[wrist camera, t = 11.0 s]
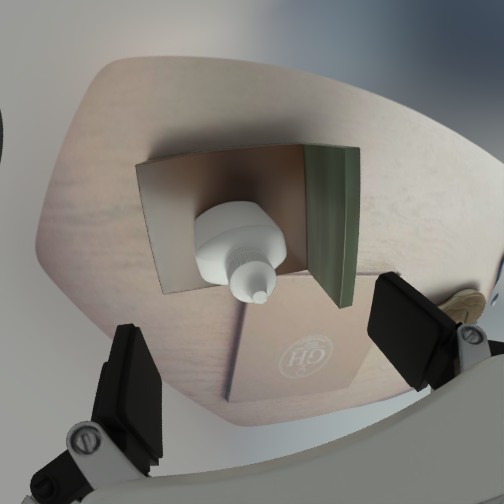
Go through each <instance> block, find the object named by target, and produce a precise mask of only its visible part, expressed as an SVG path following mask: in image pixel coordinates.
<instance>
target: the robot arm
mask: <svg viewBox="0 0 504 504" xmlns="http://www.w3.org/2000/svg"><path fill="white" fill-rule="evenodd" d="M455 326H456V322H455V321H454V320H453V319H451V318H450V317H449V316H448V315H447V314H446V313H444V312H443V311H442V310H441V309H440V308H438V307H437V306H436V305H435V304H434V303H432V302H431V301H430V300H429V299H427V298H426V297H425V296H424V295H422V294H421V293H420V292H419V291H417V290H416V289H415V288H414V287H412V286H411V285H410V284H409V283H407V282H406V281H405V280H403V279H402V278H401V277H400V276H398V275H397V274H396V273H394V272H387V273H383V274H381V275H379V277H378V279H377V280H376V283H375V289H374V295H373V301H372V307H371V312H370V317H369V322H368V327H367V332H368V335H369V337H370V338H371V339H372V340H373V342H374V343H375V344H376V345H377V346H378V348H379V349H380V350H381V351H382V352H383V354H384V355H385V356H386V357H387V359H388V360H389V361H390V362H391V363H392V365H393V366H394V367H395V368H396V370H397V371H398V372H399V373H400V375H401V376H402V377H403V378H404V379H405V381H406V382H407V383H408V384H409V386H410V387H414V388H415V390H416V391H417V392H419V391H421V390H422V389H424V388H426V387H427V386H428V384H429V385H430V386H431V393H430V394H429V395H427V396H426V397H424V398H422V399H420V400H419V401H417V402H415V403H413V404H412V405H410V406H408V407H406V408H404V409H403V410H401V411H399V412H397V413H395V414H393V415H391V416H389V417H387V418H385V419H383V420H381V421H379V422H377V423H375V424H373V425H371V426H368V427H366V428H363V429H361V430H359V431H356V432H354V433H352V434H349V435H347V436H344V437H342V438H339V439H336V440H334V441H331V442H328V443H326V444H323V445H320V446H317V447H314V448H311V449H308V450H304V451H302V452H298V453H295V454H291V455H288V456H284V457H280V458H276V459H273V460H269V461H264V462H260V463H255V464H250V465H245V466H240V467H234V468H228V469H222V470H215V471H208V472H200V473H191V474H180V475H169V476H158V477H151V476H150V475H149V474H148V473H149V472H150V466H156V465H157V466H158V465H159V458H162V456H163V446H162V380H161V376H160V374H159V372H158V370H157V367H156V365H155V363H154V361H153V359H152V356H151V354H150V352H149V349H148V347H147V345H146V342H145V340H144V337H143V335H142V332H141V330H140V328H139V327H135V326H134V324H124V325H118V326H117V329H116V332H115V336H114V340H113V344H112V347H111V351H110V356H109V359H108V362H105V363H104V364H103V366H102V370H101V374H100V379H99V383H98V388H97V392H96V397H95V402H94V406H93V412H92V417H91V421H83V422H80V423H77V424H75V426H73V427H72V428H71V429H70V431H69V432H68V434H67V438H66V445H67V448H68V449H67V450H66V451H65V452H63V453H62V454H61V455H59V456H58V457H57V458H55V459H54V460H53V461H51V462H50V463H49V464H47V465H46V466H45V467H44V468H42V469H40V470H39V471H38V472H36V474H34V475H33V477H32V479H31V483H30V489H31V493H32V495H31V496H28V495H27V496H26V497H25V498H24V500H23V502H22V503H21V504H504V342H498V341H491V340H487V336H486V334H485V332H484V331H483V330H482V329H481V328H480V327H478V326H476V325H474V324H470V323H465V324H462V325H461V326H459V327H458V329H457V331H456V330H455V329H454V328H455Z"/></svg>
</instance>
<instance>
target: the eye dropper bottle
mask: <svg viewBox="0 0 504 504" xmlns="http://www.w3.org/2000/svg"><path fill="white" fill-rule="evenodd" d="M194 248H195V259H196V262H197V266H198V269H199V271H200V274H201V276H202V278H203V279H204V280H205V281H207V282H209V283H213V284H220V285H229V287H230V290H231V292H232V294H233V295H234V296H235V297H236V298H237V299H238V300H240V301H244V302H249V303H250V302H251V303H252V302H254V303H256V304H262V303H264V302H265V301H266V300H267V297H268V296H269V295H270V294H271V293H272V292H273V290H274V288H275V286H276V282H277V281H276V280H277V276H276V272H275V270H274V269H275V268H276V267H278V266H279V265H280V264H281V263H282V262H283V261H284V259H285V258H286V254H287V251H286V244H285V239H284V235H283V233H282V231H281V229H280V228H279V227H278V226H277V224H276V223H275V222H274V221H273V220H272V219H271V218H270V217H269V216H268V215H267V214H266V213H265V211H264V210H263V209H262V208H261V207H260V206H259V205H258V204H256V203H254V202H248V201H233V202H227V203H223V204H219V205H217V206H214V207H212V208H210V209H209V210H207V211H205V212H204V213H202V214H201V215H200V216H199V217H198V218H196V220H195V222H194Z"/></svg>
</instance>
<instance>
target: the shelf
mask: <svg viewBox="0 0 504 504" xmlns="http://www.w3.org/2000/svg"><path fill="white" fill-rule="evenodd" d="M135 167H136V173H137V179H138V185H139V191H140V197H141V202H142V207H143V212H144V217H145V222H146V227H147V232H148V236H149V241H150V245H151V249H152V253H153V258H154V262H155V266H156V270H157V273H158V277H159V281H160V285H161V288H162V292H163V294H170V293H176V292H183V291H189V290H195V289H201V288H207V287H214V286H220V284H213V283H209V282H207V281H205V280H204V279H203V278H202V276H201V274H200V271H199V269H198V266H197V262H196V259H195V248H194V222H195V220H196V218H198V217H199V216H200V215H201V214H202V213H204V212H205V211H207V210H209V209H210V208H212V207H214V206H217V205H219V204H223V203H227V202H233V201H248V202H254V203H256V204H258V205H259V206H260V207H261V208H262V209H263V210H264V211H265V213H266V214H267V215H268V216H269V217H270V218H271V219H272V220H273V221H274V222H275V223H276V224H277V226H278V227H279V228H280V229H281V231H282V233H283V235H284V239H285V244H286V251H287V254H286V258H285V259H284V261H283V262H282V263H281V264H280V265H279V266H278V267H276V268H275V269H274V270H275V272H276V276H277V275H282V274H287V273H293V272H298V271H303V270H308V271H309V272H310V274H311V275H312V276H313V277H314V278H315V280H316V281H317V282H318V283H319V284H320V286H321V287H322V288H323V289H324V291H325V292H326V293H327V294H328V295H329V297H330V298H331V299H332V300H333V301H334V303H335V304H336V305H337V306H338V308H339V309H341V308H345V307H348V306H352V302H353V294H354V285H355V275H356V265H357V253H358V238H359V219H360V148H359V147H350V146H340V145H328V144H315V143H297V142H294V143H276V144H262V145H250V146H240V147H231V148H222V149H214V150H207V151H199V152H193V153H186V154H180V155H174V156H168V157H163V158H157V159H152V160H147V161H144V162H142V163H139V164H137V165H135Z"/></svg>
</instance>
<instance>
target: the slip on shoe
mask: <svg viewBox="0 0 504 504" xmlns="http://www.w3.org/2000/svg"><path fill="white" fill-rule="evenodd" d="M485 304H486V301H485V298H484V295H483V294H482V293H480V292H479V291H476V290H473V289H464V290H461V291H459V292H457V293H456V294H455V295H453V296H452V297H451V298H449V299H448V300H447V301H445V302H444V303H442V304H440V305H438V306H437V307H438V308H440V309H441V310H442V311H443V312H444V313H446V314H447V315H448V316H449V317H450V318H451V319H453V320H454V321H455V322H456V326H455V328H454V329H455V330H456V331H457V329H458V327H459V326H461V325H462V324H465V323H470V324H473V323H474V322H475V321H476V320H477V319H478V318H479V317H480V316H481V314H482V312H483V310H484V308H485Z"/></svg>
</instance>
